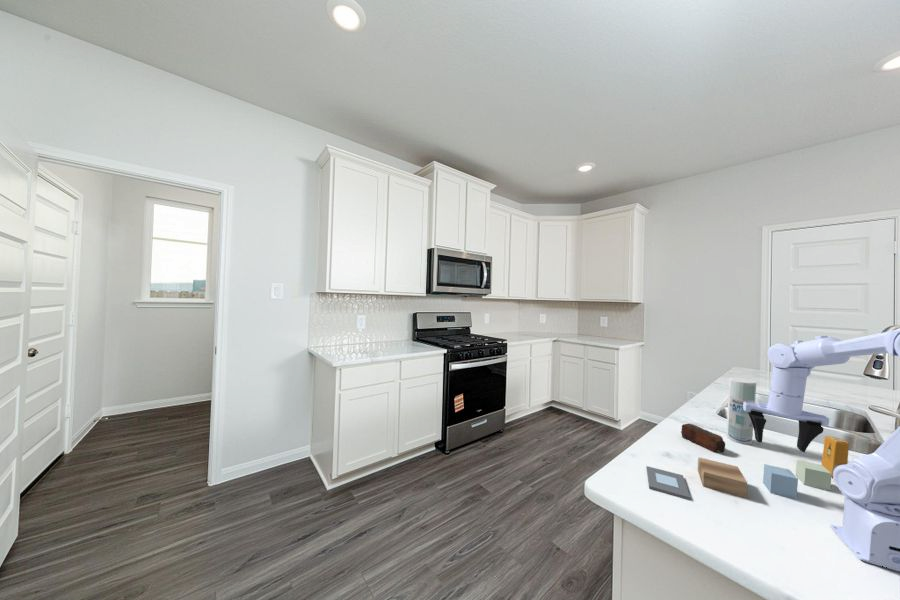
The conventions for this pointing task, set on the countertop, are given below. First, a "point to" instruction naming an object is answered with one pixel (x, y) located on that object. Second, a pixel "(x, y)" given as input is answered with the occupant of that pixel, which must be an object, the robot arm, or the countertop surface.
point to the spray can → (740, 410)
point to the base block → (722, 477)
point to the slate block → (780, 481)
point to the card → (667, 482)
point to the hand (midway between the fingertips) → (779, 444)
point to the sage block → (813, 475)
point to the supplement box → (834, 453)
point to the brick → (703, 438)
